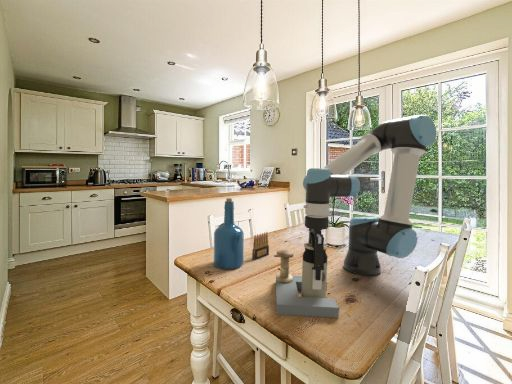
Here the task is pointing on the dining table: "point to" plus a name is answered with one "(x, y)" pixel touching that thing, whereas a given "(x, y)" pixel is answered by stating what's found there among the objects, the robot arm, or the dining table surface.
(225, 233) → the wine bottle
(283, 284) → the notched board
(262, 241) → the ammunition clip
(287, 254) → the birch bobbin
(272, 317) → the dining table surface
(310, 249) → the travel mug
